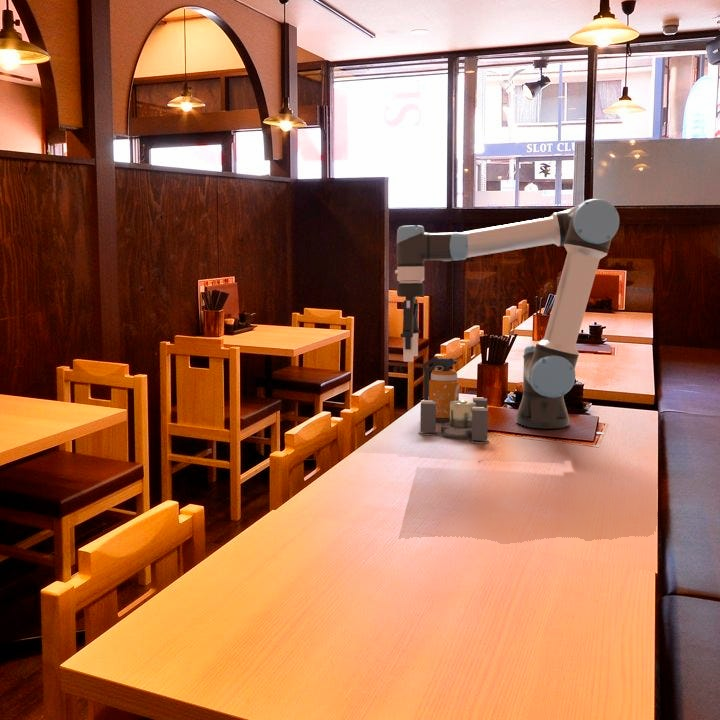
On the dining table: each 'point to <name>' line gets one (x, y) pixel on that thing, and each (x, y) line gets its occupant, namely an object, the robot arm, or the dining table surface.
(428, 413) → the grey upright block
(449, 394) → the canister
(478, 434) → the gray rectangular block
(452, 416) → the tribrach
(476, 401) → the knob
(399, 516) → the dining table surface
